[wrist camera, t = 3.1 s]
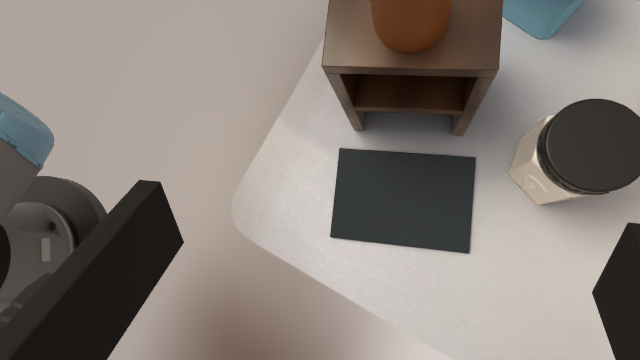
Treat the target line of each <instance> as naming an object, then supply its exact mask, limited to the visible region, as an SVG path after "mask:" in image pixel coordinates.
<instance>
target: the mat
mask: <svg viewBox="0 0 640 360" xmlns="http://www.w3.org/2000/svg"><path fill="white" fill-rule="evenodd" d="M474 173H475V157H463V156H448V155H433V154H418V153H403V152H388V151H373V150H358V149H343V148H340V150H339V160H338V169H337V178H336V188H335V197H334V207H333V216H332V225H331V235H330V237H334V238H343V239H351V240H360V241H369V242H377V243H386V244H394V245H403V246H412V247H420V248H429V249H438V250H446V251H455V252H463V253H469V246H470V231H471V217H472V202H473V187H474Z"/></svg>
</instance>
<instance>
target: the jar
mask: <svg viewBox="0 0 640 360" xmlns="http://www.w3.org/2000/svg"><path fill="white" fill-rule="evenodd" d="M509 176H510V177H511V178H512V179H513V180H514V181H515V182H516V183H517V184H518V185H519V186H520V187H521V188H522V189H523V191H524V192H525V193H526V194H527V195H528V196H529V197H530V198H531V199H532V200H533V201H534V202H535V203H536V204H537V205H542V204H548V203H554V202H560V201H566V200H572V199H578V198H583V197H588V196H592V195H601V194H606V193H609V192H611V191H615V190H619V189H622V188H624V187H625V186H627V185H629V184H631V183H632V182H633V181H635V180H636V179H637V178H638V177H639V176H640V117H639V116H638V115H637V114H636V113H634V112H633V111H632V110H631V109H629V108H628V107H626V106H624V105H622V104H620V103H617V102H614V101H610V100H605V99H587V100H582V101H578V102H575V103H573V104H570V105H569V106H567V107H565V108H564V109H562V110H561V111H560V112H558V113H556V114H551V115H547V116H546V117H545V118H544V119H542V120H541V121H540V122H539V123H538V124H537V125H536V126H534V127H533V128H532V129H531V130H530V131H529V132H528V133H526V134H525V135H524V136H523V137H522V138H521V139H520V142H519V145H518V148H517V151H516V154H515V157H514V159H513V162H512V165H511V168H510V171H509Z"/></svg>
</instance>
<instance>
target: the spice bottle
mask: <svg viewBox="0 0 640 360" xmlns="http://www.w3.org/2000/svg"><path fill="white" fill-rule="evenodd" d="M451 5H452V0H370V6H371V12H372V18H373V24H374V29H375V32H376V34H377V36H378V38H379V39H380V40H381V41H382V42H383V43H384V44H385V45H386V46H388V47H389V48H391V49H393V50H396V51H400V52H416V51H420V50H423V49H426V48H428V47H429V46H431V45H433V44H434V43H435V42H436V41H437V40H438V39H439V38H440V37H441V36H442V35H443V33H444V31H445V30H446V27H447V25H448V21H449V16H450V10H451Z"/></svg>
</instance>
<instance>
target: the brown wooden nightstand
mask: <svg viewBox="0 0 640 360" xmlns="http://www.w3.org/2000/svg"><path fill="white" fill-rule="evenodd" d="M502 11H503V0H452V5H451V10H450V16H449V21H448V25H447V27H446V30H445V31H444V33H443V35H442V36H441V37H440V38H439V39H438V40H437V41H436V42H435V43H434V44H433V45H431V46H429V47H428V48H426V49H423V50H420V51H416V52H400V51H396V50H393V49H391V48H389V47H388V46H386V45H385V44H384V43H383V42H382V41H381V40H380V39H379V38H378V36H377V34H376V32H375V29H374V24H373V18H372V12H371V6H370V0H329V5H328V14H327V23H326V32H325V40H324V49H323V58H322V68H323V70H324V71H325V74H326V76H327V78H328V79H329V81H330V83H331V85H332V87H333V89H334V91H335V93H336V95H337V97H338V99H339V101H340V103H341V105H342V107H343V109H344V111H345V113H346V115H347V117H348V119H349V121H350V123H351V125H352V127H353V128H354V130H361V131H363V130H364V122H365V112H366V111H376V112H398V113H420V114H441V115H454V123H453V136H463V135H464V133H465V131H466V129H467V127H468V126H469V124H470V122H471V120H472V118H473V116H474V114H475V113H476V111H477V109H478V107H479V105H480V103H481V101H482V100H483V98H484V96H485V94H486V92H487V90H488V88H489V87H490V85H491V83H492V81H493V79H494V77H495V76H496V74H497V72H498V70H499V58H500V43H501V27H502Z"/></svg>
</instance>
